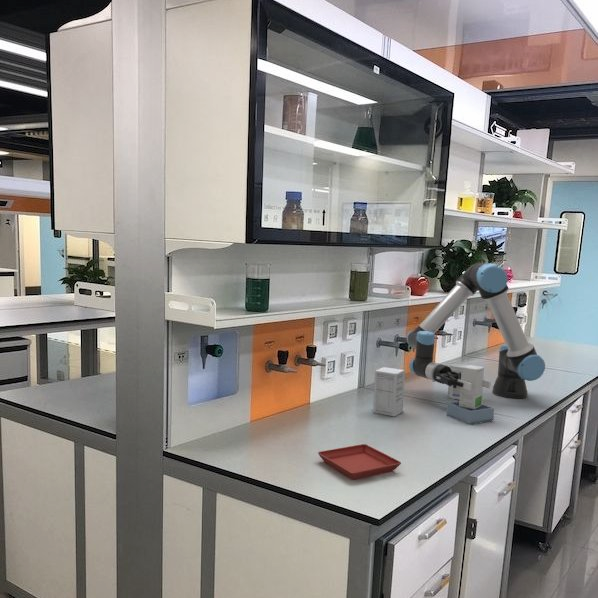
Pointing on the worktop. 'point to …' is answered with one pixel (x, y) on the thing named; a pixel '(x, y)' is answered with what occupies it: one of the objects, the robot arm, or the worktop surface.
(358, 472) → the plant saucer
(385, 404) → the supplement box
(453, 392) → the supplement tub
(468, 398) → the skincare box
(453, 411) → the crate
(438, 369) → the robot arm
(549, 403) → the worktop surface
